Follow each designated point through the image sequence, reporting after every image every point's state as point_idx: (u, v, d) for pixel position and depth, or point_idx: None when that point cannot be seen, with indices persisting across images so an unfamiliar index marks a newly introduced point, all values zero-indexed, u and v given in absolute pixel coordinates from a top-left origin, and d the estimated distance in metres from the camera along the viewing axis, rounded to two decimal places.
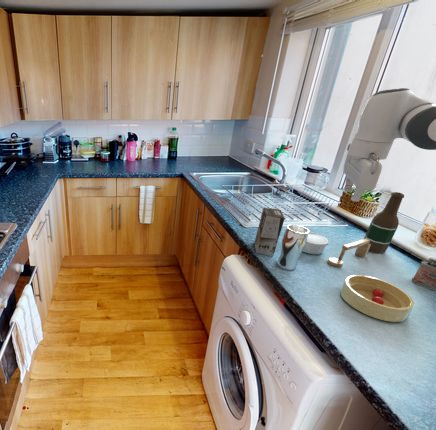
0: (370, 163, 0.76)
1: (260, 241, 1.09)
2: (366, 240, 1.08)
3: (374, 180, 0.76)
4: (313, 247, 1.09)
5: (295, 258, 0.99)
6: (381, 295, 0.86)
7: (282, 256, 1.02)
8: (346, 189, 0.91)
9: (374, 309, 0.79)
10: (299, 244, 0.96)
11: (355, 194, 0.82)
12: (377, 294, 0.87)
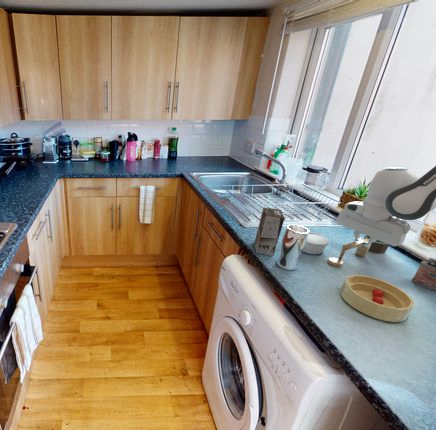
0: (401, 226, 0.96)
1: (260, 241, 1.09)
2: (366, 240, 1.08)
3: (404, 238, 0.97)
4: (313, 248, 1.09)
5: (295, 258, 0.99)
6: (381, 295, 0.86)
7: (282, 256, 1.02)
8: None
9: (374, 309, 0.79)
10: (299, 244, 0.96)
11: (370, 243, 1.05)
12: (377, 294, 0.87)
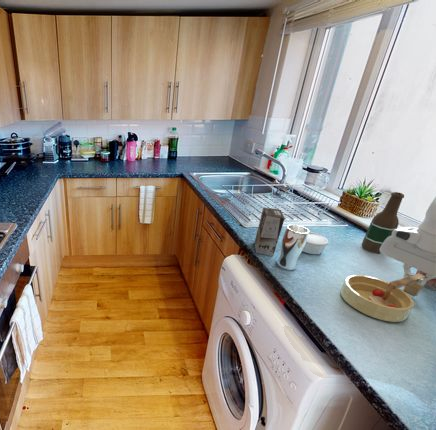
0: None
1: (260, 241, 1.09)
2: (420, 276, 0.86)
3: None
4: (313, 248, 1.09)
5: (295, 258, 0.99)
6: (381, 295, 0.86)
7: (282, 256, 1.02)
8: None
9: (374, 309, 0.79)
10: (299, 244, 0.96)
11: (426, 280, 0.83)
12: (377, 294, 0.87)
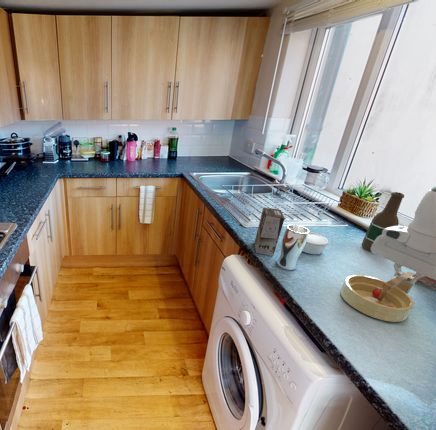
0: None
1: (260, 241, 1.09)
2: (410, 274, 0.86)
3: None
4: (313, 248, 1.09)
5: (295, 258, 0.99)
6: None
7: (282, 256, 1.02)
8: None
9: (374, 309, 0.79)
10: (299, 244, 0.96)
11: (416, 279, 0.83)
12: (377, 294, 0.87)
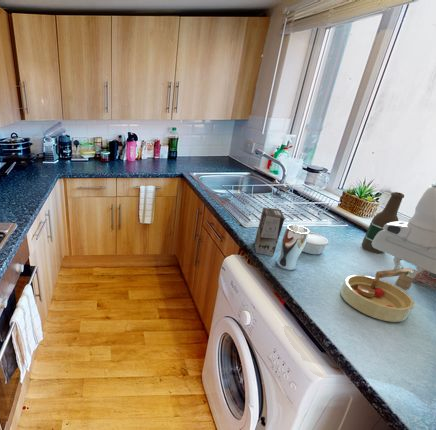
0: None
1: (260, 241, 1.09)
2: (410, 269, 0.89)
3: None
4: (313, 248, 1.09)
5: (295, 258, 0.99)
6: (380, 293, 0.87)
7: (282, 256, 1.02)
8: None
9: (374, 309, 0.79)
10: (299, 244, 0.96)
11: (416, 273, 0.86)
12: (377, 290, 0.87)
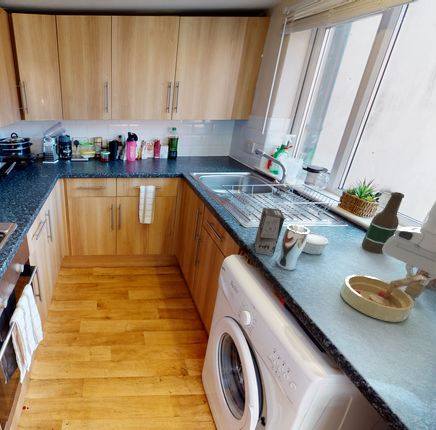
0: None
1: (260, 241, 1.09)
2: (421, 277, 0.86)
3: None
4: (313, 248, 1.09)
5: (295, 258, 0.99)
6: None
7: (282, 256, 1.02)
8: None
9: (374, 309, 0.79)
10: (299, 244, 0.96)
11: (429, 280, 0.83)
12: None
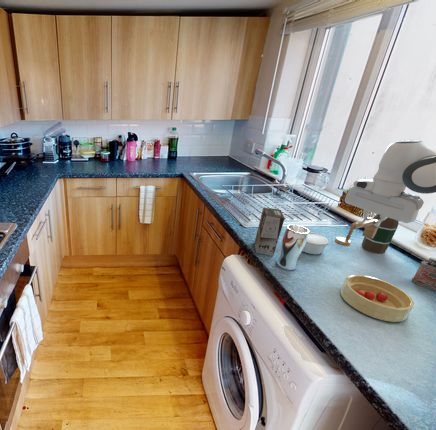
0: (414, 202, 0.92)
1: (260, 241, 1.09)
2: None
3: (416, 214, 0.93)
4: (313, 248, 1.09)
5: (295, 258, 0.99)
6: None
7: (282, 256, 1.02)
8: None
9: (374, 309, 0.79)
10: (299, 244, 0.96)
11: (380, 221, 1.01)
12: (381, 300, 0.85)
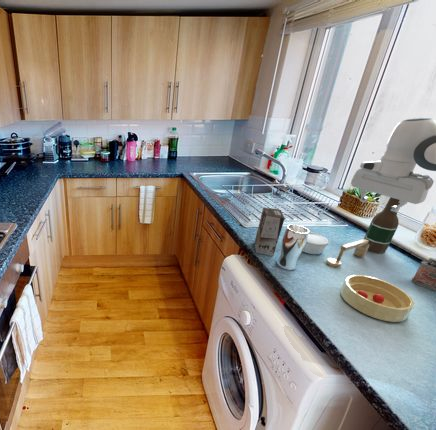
0: (423, 181, 0.89)
1: (260, 241, 1.09)
2: (365, 240, 1.07)
3: (426, 195, 0.90)
4: (313, 248, 1.09)
5: (295, 258, 0.99)
6: None
7: (282, 256, 1.02)
8: (365, 200, 1.04)
9: (374, 309, 0.79)
10: (299, 244, 0.96)
11: (399, 207, 0.95)
12: None
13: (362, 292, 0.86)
